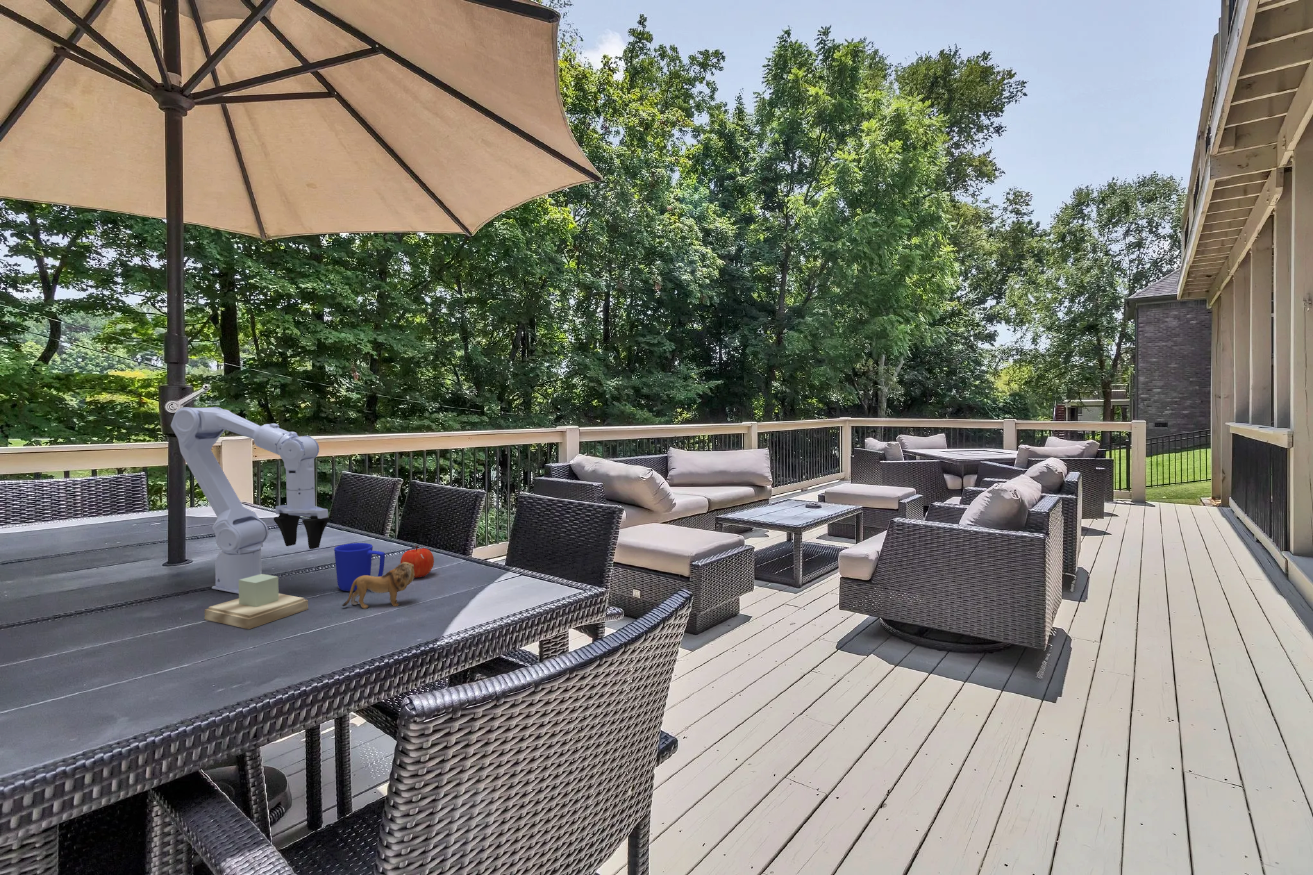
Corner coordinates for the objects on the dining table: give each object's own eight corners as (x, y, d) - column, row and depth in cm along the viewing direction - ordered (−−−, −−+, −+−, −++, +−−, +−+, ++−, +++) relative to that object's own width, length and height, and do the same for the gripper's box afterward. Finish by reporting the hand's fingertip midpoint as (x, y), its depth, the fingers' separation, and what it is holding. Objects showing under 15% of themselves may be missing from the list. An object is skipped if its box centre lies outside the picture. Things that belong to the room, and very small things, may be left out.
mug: (372, 596, 145) (372, 553, 144) (326, 591, 147) (326, 549, 146) (394, 585, 153) (394, 545, 152) (350, 582, 155) (350, 541, 154)
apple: (438, 577, 161) (438, 546, 160) (406, 582, 156) (406, 550, 155) (427, 570, 167) (427, 540, 166) (395, 575, 162) (395, 544, 161)
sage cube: (239, 603, 130) (238, 579, 130) (262, 596, 135) (261, 573, 134) (255, 607, 128) (255, 582, 128) (278, 600, 133) (278, 576, 132)
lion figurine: (414, 597, 144) (413, 558, 144) (415, 604, 139) (415, 564, 139) (342, 605, 138) (341, 564, 138) (341, 612, 133) (340, 570, 133)
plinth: (204, 619, 128) (204, 607, 127) (265, 600, 140) (265, 589, 140) (248, 629, 123) (248, 616, 123) (308, 609, 135) (307, 597, 135)
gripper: (262, 489, 145) (264, 547, 146) (308, 492, 139) (309, 553, 140) (290, 485, 151) (292, 541, 152) (335, 488, 146) (336, 546, 147)
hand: (302, 546), depth 147 cm, fingers open, 7 cm apart
